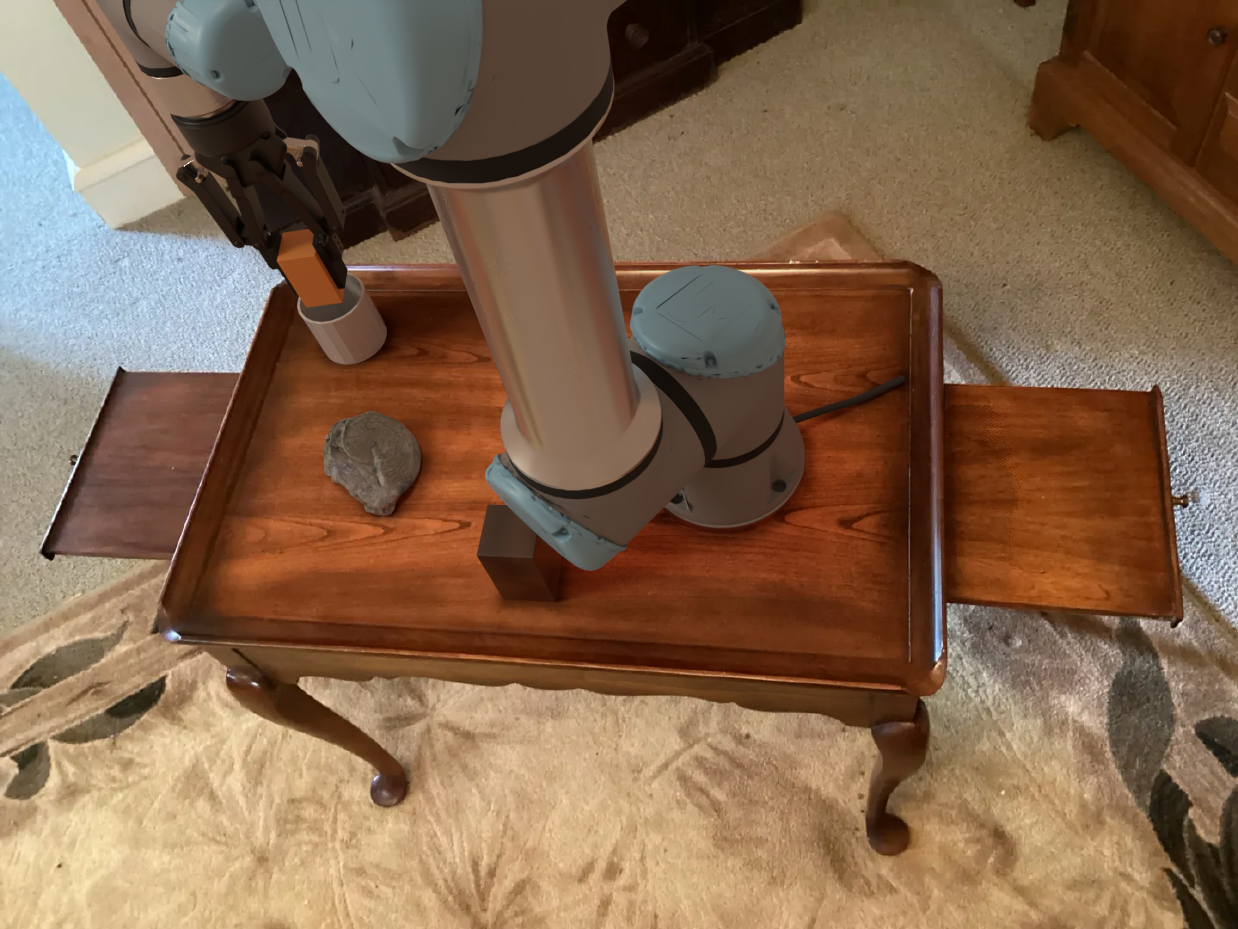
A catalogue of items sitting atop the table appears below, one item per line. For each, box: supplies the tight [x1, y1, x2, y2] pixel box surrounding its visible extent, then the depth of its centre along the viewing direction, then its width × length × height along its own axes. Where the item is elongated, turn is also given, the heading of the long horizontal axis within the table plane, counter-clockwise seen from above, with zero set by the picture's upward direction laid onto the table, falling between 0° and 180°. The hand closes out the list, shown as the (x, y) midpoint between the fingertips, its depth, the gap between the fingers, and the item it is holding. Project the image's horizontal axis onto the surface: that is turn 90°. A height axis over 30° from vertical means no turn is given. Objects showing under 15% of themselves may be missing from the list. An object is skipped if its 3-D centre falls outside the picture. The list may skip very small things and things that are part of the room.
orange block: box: [277, 228, 345, 308], centre depth 99 cm, size 4×4×7 cm
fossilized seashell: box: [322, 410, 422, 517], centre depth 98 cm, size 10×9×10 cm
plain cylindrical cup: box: [296, 271, 388, 365], centre depth 106 cm, size 7×7×7 cm
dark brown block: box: [476, 503, 564, 603], centre depth 86 cm, size 5×5×9 cm
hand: (321, 281), depth 101 cm, fingers closed on orange block, 4 cm apart
